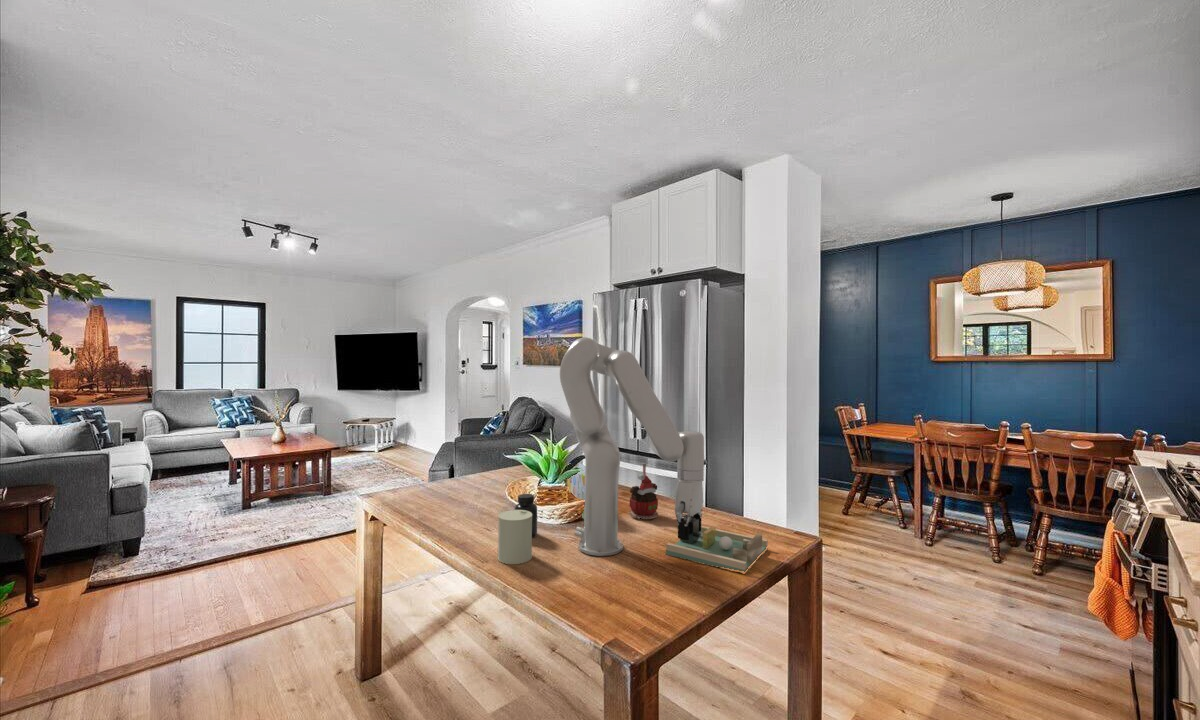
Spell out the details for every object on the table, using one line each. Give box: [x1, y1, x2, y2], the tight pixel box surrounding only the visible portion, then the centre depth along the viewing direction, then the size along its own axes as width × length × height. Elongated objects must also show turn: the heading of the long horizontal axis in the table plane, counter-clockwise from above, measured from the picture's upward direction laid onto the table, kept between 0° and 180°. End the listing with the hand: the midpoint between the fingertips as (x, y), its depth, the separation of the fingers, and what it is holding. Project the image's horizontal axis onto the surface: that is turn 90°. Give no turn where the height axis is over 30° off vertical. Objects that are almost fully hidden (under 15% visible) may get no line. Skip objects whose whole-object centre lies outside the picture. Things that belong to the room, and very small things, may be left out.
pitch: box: [665, 525, 769, 572], centre depth 140 cm, size 22×20×3 cm
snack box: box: [566, 462, 586, 520], centre depth 175 cm, size 21×6×15 cm, turn 22°
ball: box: [719, 536, 733, 550], centre depth 139 cm, size 4×4×4 cm
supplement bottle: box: [514, 493, 538, 539], centre depth 151 cm, size 7×7×12 cm
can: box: [497, 509, 533, 565], centre depth 135 cm, size 9×9×12 cm
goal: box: [733, 533, 763, 563], centre depth 135 cm, size 5×9×5 cm, turn 146°
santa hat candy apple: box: [629, 463, 659, 520], centre depth 171 cm, size 11×9×18 cm
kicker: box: [679, 517, 717, 549], centre depth 144 cm, size 9×6×6 cm
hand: (689, 534), depth 145 cm, fingers open, 8 cm apart
